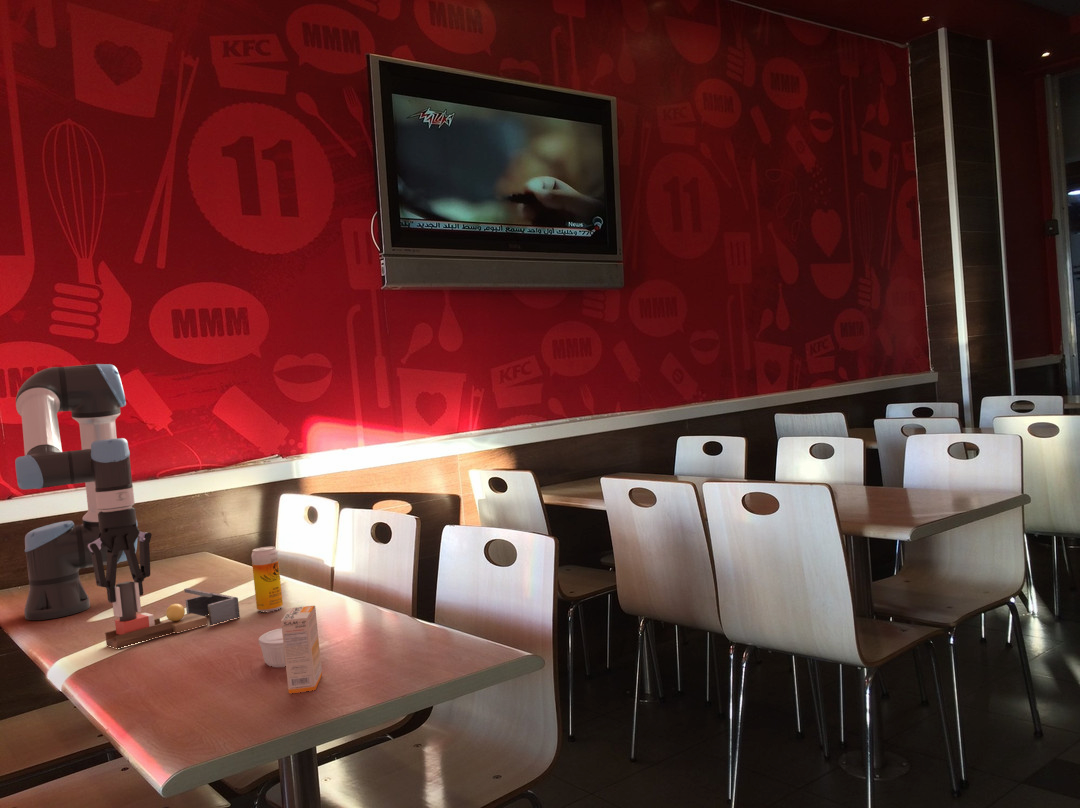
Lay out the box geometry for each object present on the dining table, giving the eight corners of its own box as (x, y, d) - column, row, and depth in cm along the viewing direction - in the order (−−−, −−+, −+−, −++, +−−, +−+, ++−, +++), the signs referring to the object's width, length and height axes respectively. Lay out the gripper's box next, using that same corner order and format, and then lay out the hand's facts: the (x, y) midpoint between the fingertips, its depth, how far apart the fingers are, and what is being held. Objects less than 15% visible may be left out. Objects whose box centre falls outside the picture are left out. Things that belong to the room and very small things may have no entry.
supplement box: (296, 678, 160) (289, 607, 159) (323, 675, 160) (316, 604, 160) (287, 694, 152) (279, 619, 151) (315, 691, 152) (307, 616, 152)
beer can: (275, 612, 211) (269, 550, 210) (252, 613, 212) (245, 552, 211) (287, 605, 217) (281, 545, 216) (265, 606, 218) (258, 546, 217)
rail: (106, 646, 194) (105, 632, 194) (160, 631, 203) (158, 618, 203) (118, 649, 190) (116, 636, 190) (172, 634, 199) (170, 621, 199)
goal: (187, 620, 211) (184, 588, 211) (215, 612, 216) (211, 582, 216) (212, 626, 203) (208, 593, 203) (239, 618, 208) (236, 586, 208)
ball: (163, 622, 203) (162, 605, 203) (180, 617, 206) (178, 600, 206) (171, 624, 200) (170, 607, 200) (188, 619, 203) (186, 602, 203)
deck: (160, 629, 204) (159, 621, 204) (191, 621, 210) (190, 613, 210) (176, 634, 199) (175, 625, 199) (207, 625, 204) (206, 616, 204)
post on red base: (116, 633, 195) (111, 584, 195) (146, 625, 200) (141, 577, 200) (124, 636, 192) (119, 586, 192) (155, 627, 197) (149, 579, 197)
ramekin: (288, 672, 164) (285, 644, 164) (248, 666, 170) (245, 639, 170) (332, 653, 174) (329, 627, 174) (292, 648, 180) (290, 623, 179)
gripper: (83, 516, 186) (95, 625, 187) (160, 502, 198) (171, 606, 199) (70, 514, 191) (81, 621, 192) (146, 501, 203) (156, 602, 204)
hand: (127, 613), depth 195 cm, fingers closed on post on red base, 3 cm apart
